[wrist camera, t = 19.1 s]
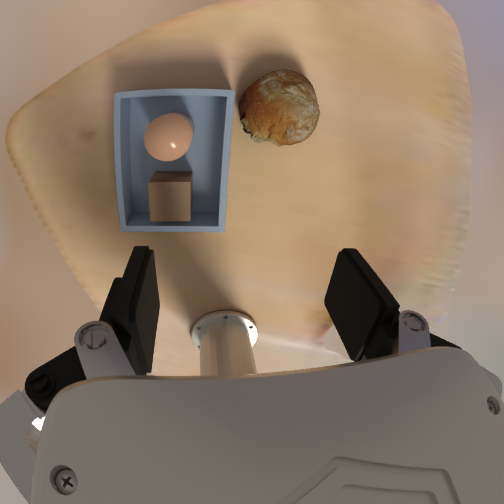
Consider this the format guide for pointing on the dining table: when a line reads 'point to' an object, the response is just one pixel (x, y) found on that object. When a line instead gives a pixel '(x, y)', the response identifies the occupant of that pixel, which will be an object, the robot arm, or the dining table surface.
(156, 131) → the terracotta cylinder
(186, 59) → the dining table surface
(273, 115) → the bread roll
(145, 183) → the tote
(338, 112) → the dining table surface
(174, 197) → the walnut cube
